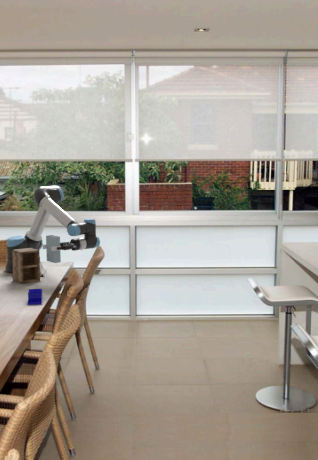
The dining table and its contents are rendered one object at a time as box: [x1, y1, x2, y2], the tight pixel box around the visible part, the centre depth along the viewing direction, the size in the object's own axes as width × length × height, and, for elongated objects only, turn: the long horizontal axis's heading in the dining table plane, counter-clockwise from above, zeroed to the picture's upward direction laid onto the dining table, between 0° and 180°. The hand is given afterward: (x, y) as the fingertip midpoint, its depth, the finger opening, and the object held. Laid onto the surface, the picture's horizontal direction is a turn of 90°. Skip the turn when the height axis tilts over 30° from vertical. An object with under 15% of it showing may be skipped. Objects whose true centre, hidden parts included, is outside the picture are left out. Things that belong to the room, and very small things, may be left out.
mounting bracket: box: [27, 288, 44, 306], centre depth 328 cm, size 18×7×6 cm, turn 9°
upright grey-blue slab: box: [45, 234, 62, 264], centre depth 371 cm, size 10×5×16 cm, turn 40°
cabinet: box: [11, 248, 42, 285], centre depth 377 cm, size 12×14×20 cm
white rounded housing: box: [40, 260, 48, 278], centre depth 398 cm, size 17×5×10 cm, turn 4°
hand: (47, 248), depth 368 cm, fingers closed on upright grey-blue slab, 10 cm apart
